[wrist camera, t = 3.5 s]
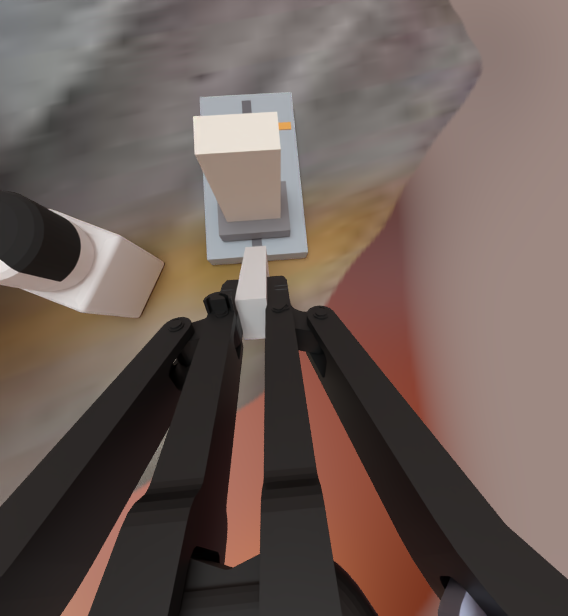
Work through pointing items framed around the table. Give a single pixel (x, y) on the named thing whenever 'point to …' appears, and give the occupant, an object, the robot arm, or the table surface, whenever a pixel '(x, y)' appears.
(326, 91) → the table surface
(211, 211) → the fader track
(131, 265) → the container
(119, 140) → the table surface
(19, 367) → the table surface
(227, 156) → the fader
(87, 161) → the table surface
